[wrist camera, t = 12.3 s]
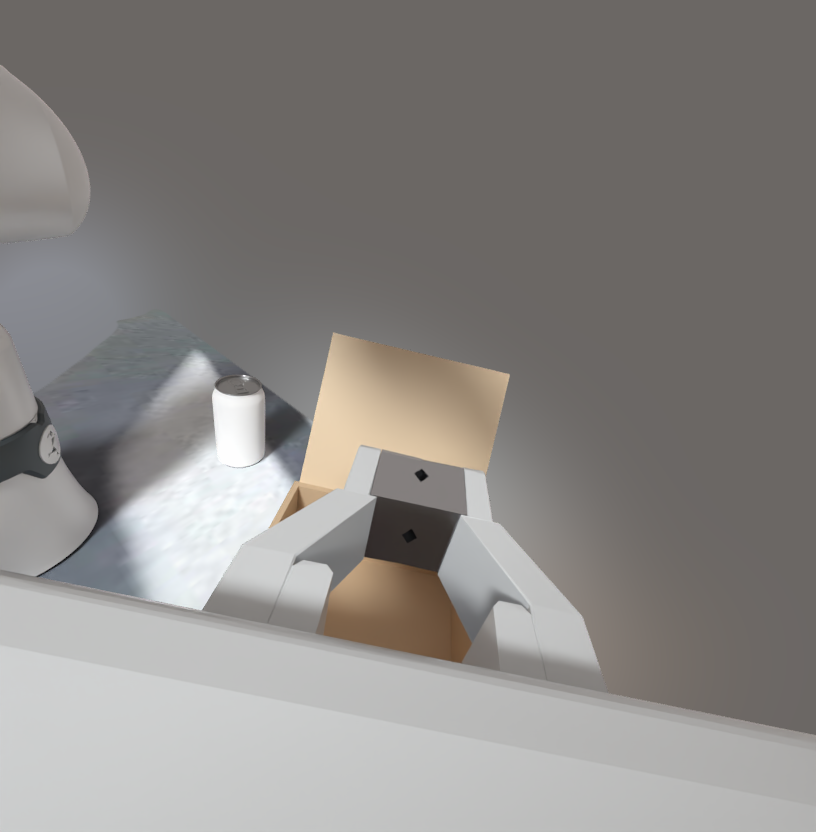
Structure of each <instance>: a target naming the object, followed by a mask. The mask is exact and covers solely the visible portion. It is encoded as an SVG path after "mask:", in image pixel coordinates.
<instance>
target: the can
mask: <svg viewBox="0 0 816 832" xmlns="http://www.w3.org/2000/svg"><path fill="white" fill-rule="evenodd" d="M261 387H262V384H261V382H260V381H259V380H258V379H256V378H254V377H251V376H247V375H229V376H225V377H222V378H220V379H218V380H217V381H216V382H215V389H214V391H213V394H212V402H213V415H214V426H215V437H216V448H217V456H218V459H219V460H220V461H221V462H222V463H223V464H225V465H227V466H229V467H234V468H244V467H249V466H252V465H254V464H256V463H258V462H259V461H260V460H261V459H262V458H263V457H264V454H265V394H264V391H263V389H262V388H261Z"/></svg>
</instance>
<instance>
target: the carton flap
mask: <svg viewBox="0 0 816 832" xmlns="http://www.w3.org/2000/svg"><path fill="white" fill-rule="evenodd" d="M509 376H510V374H506V373H501V372H498V371H494V370H489V369H485V368H480V367H477V366H472V365H468V364H464V363H460V362H455V361H451V360H447V359H443V358H438V357H434V356H430V355H426V354H421V353H417V352H412V351H409V350H404V349H400V348H396V347H392V346H387V345H383V344H379V343H374V342H370V341H366V340H362V339H357V338H353V337H349V336H345V335H341V334H336V333H333V337H332V341H331V345H330V350H329V354H328V359H327V364H326V367H325V372H324V376H323V381H322V385H321V389H320V394H319V399H318V403H317V407H316V412H315V416H314V420H313V425H312V429H311V434H310V438H309V443H308V447H307V451H306V456H305V460H304V465H303V469H302V474H301V478H300V482H302V483H306V484H311V485H315V486H320V487H324V488H329V489H333V490H335V489H337V488H339V489H344V487H345V484H346V481H347V478H348V476H349V473H350V470H351V467H352V465H353V462H354V459H355V456H356V453H357V451H358V448H359V446H360V445H366V446H370V447H375V448H379V449H381V451H382V449H383V450H388V451H392V452H396V453H400V454H404V455H408V456H412V457H417V458H421V459H423V460H428V461H433V462H437V463H442V464H447V465H452V466H456V467H461V468H462V467H465V468H470V469H475V470H480V471H483V472H484V473H485V475H486V473H487V469H488V465H489V461H490V456H491V452H492V448H493V443H494V439H495V435H496V431H497V426H498V422H499V418H500V414H501V409H502V405H503V401H504V397H505V393H506V389H507V384H508V380H509Z"/></svg>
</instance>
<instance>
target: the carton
mask: <svg viewBox="0 0 816 832" xmlns="http://www.w3.org/2000/svg"><path fill="white" fill-rule="evenodd" d="M331 491H333V489H329V488H324V487H320V486H315V485H311V484H306V483H302V482H298V481H295V482H294V483H293V485H292V487H291V489H290V491H289V492H288V494H287V496H286V498H285V500H284V501H283V503H282V505H281V507H280V509H279V511H278V512H277V514H276V516H275V518H274V520H273V521H272V523H271V525H270V527H269V528H271V527H273V526H274V525H276V524H278V523H279V522H281V521H283V520H284V519H286V518H288V517H289V516H291V515H293V514H294V513H296V512H298V511H299V510H301V509H303V508H305V507H306V506H308V505H310V504H311V503H313V502H315V501H316V500H318V499H320V498H321V497H323V496H325V495H326V494H328V493H330V492H331ZM323 635H324V636H329V637H334V638H339V639H344V640H349V641H354V642H359V643H364V644H368V645H373V646H378V647H383V648H388V649H393V650H398V651H403V652H408V653H413V654H417V655H422V656H427V657H432V658H437V659H442V660H447V661H452V662H457V663H462V661H463V659H464V657H465V655H466V654H467V652H468V650H469V648H470V647H471V645H472V642H471V640H470V638H469V636H468V634H467V632H466V630H465V628H464V626H463V624H462V622H461V620H460V618H459V616H458V614H457V612H456V610H455V608H454V606H453V604H452V602H451V600H450V598H449V596H448V594H447V592H446V590H445V588H444V586H443V584H442V582H441V580H440V578H439V576H438V572H433V571H429V570H425V569H421V568H417V567H412V566H408V565H404V564H400V563H394V562H389V561H383V560H378V559H372V558H367V557H364V559H363V560H362V561H361V562H360V563H359V564H358V565H357V566H356V567H355V568H354V569H353V570H352V571H351V572H350V573H349V574H348V575H347V576H346V577H345V578H344V579H343V580H342V581H341V582H340V583H339V584H338V585H337V586H336V587H335V588H334V589H333V590H332V591H331V592H330V596H329V603H328V609H327V615H326V622H325V628H324V634H323Z"/></svg>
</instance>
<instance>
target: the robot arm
mask: <svg viewBox="0 0 816 832" xmlns="http://www.w3.org/2000/svg"><path fill="white" fill-rule="evenodd" d="M89 200H90V181H89V176H88V171H87V168H86V165H85V162H84V160H83V157H82V154H81V152H80V150H79V148H78V146H77V144H76V143H75V141H74V139H73V137H72V136H71V134H70V133H69V131H68V130H67V129H66V127H65V126H64V124H63V123H62V122H61V120H60V119H59V118H58V117H57V116H56V114H55V113H54V112H53V111H52V110H51V109H50V108H49V107H48V106H47V105H46V103H45V102H44V101H43V100H42V99H40V98H39V96H37V95H36V94H35V93H34V92H33V91H32V90H31V89H30V88H29V87H27V86H26V85H25V84H23V83H22V82H21V81H20V80H18V79H17V78H16V77H15V76H13V75H12V74H11V73H10V72H9V71H7V70H6V69H5V68H4V67H3V66H2V65H1V64H0V244H4V243H15V242H25V241H35V240H42V239H50V238H56V237H64V236H69V235H71V234H72V233H73V232H75V231H76V229H77V228H78V227H79V226H80V224H81V223H82V221H83V219H84V217H85V216H86V213H87V210H88V207H89ZM97 517H98V506H97V503H96V501H95V499H94V498H93V497H92V496H91V495H90V494H89V493H88V492H87V491H86V490H85V489H84V488H83V487H82V486H81V485H80V484H79V483H78V482H77V480H76V479H75V478H74V476H73V475H72V473H71V472H70V471H69V469H68V467H67V466H66V464H65V463H64V461H63V459H62V457H61V449H60V443H59V439H58V436H57V433H56V430H55V428H54V426H53V425H52V423H51V420H50V418H49V416H48V413H47V411H46V409H45V407H44V405H43V403H42V402H41V401H40V400H39V399H38V398H37V397H35V396H34V395H33V392H32V390H31V387H30V384H29V382H28V379H27V377H26V374H25V371H24V369H23V366H22V363H21V361H20V358H19V356H18V353H17V351H16V348H15V345H14V343H13V340H12V337H11V336H10V334H9V333H8V331H7V330H6V329H5V328H4V327H3V326H2V325H1V324H0V832H816V735H811V734H806V733H801V732H796V731H791V730H786V729H781V728H776V727H771V726H767V725H762V724H757V723H752V722H747V721H742V720H737V719H733V718H728V717H723V716H718V715H713V714H708V713H703V712H698V711H693V710H688V709H684V708H679V707H674V706H669V705H664V704H659V703H654V702H649V701H644V700H639V699H634V698H629V697H625V696H620V695H614V694H610V693H608V690H607V687H606V684H605V682H604V678H603V676H602V673H601V670H600V667H599V664H598V661H597V658H596V655H595V652H594V649H593V646H592V643H591V640H590V637H589V634H588V632H587V629H586V626H585V623H584V620H583V617H582V616H581V615H580V613H579V612H578V611H577V610H576V609H575V608H574V607H573V605H572V604H571V603H570V602H569V601H568V600H567V599H566V598H565V596H564V595H563V594H562V593H561V592H560V591H559V590H558V589H557V587H556V586H555V585H554V584H553V583H552V582H551V581H550V579H549V578H548V577H547V576H546V575H545V574H544V573H543V572H542V570H541V569H540V568H539V567H538V566H537V565H536V564H535V563H534V561H533V560H532V559H531V558H530V557H529V556H528V555H527V554H526V553H525V551H524V550H523V549H522V548H521V547H520V546H519V545H518V543H517V542H516V541H515V540H514V539H513V538H512V537H511V535H510V534H509V533H508V532H507V531H506V530H505V529H504V528H503V526H502V525H501V524H500V523H497V522H493V518H492V511H491V505H490V500H489V494H488V487H487V481H486V475H485V473H484V472H483V471H480V470H475V469H470V468H465V467H462V468H461V467H456V466H452V465H447V464H442V463H437V462H433V461H428V460H423V459H421V458H417V457H412V456H408V455H404V454H400V453H396V452H392V451H388V450H383V449H382V451H381V449H379V448H375V447H370V446H366V445H360V446H359V448H358V451H357V453H356V456H355V459H354V462H353V465H352V467H351V470H350V473H349V476H348V478H347V481H346V484H345V487H344V489H339V488H337V489H335V490H333V491H331V492H330V493H328V494H326V495H325V496H323V497H321V498H320V499H318V500H316V501H315V502H313V503H311V504H310V505H308V506H306V507H305V508H303V509H301V510H299V511H298V512H296V513H294V514H293V515H291V516H289V517H288V518H286V519H284V520H283V521H281V522H279V523H278V524H276V525H274V526H273V527H271V528H269V529H268V530H266V531H264V532H262V533H261V534H259V535H257V536H256V537H254V538H252V539H251V540H249V541H247V542H246V543H244V544H242V546H241V547H240V549H239V551H238V552H237V554H236V555H235V557H234V559H233V560H232V562H231V564H230V565H229V567H228V569H227V570H226V572H225V574H224V575H223V577H222V578H221V580H220V582H219V583H218V585H217V587H216V588H215V590H214V592H213V593H212V595H211V596H210V598H209V600H208V601H207V603H206V605H205V606H204V608H203V610H197V609H192V608H187V607H182V606H177V605H172V604H167V603H162V602H157V601H153V600H148V599H143V598H138V597H133V596H128V595H123V594H118V593H113V592H108V591H104V590H99V589H94V588H89V587H84V586H79V585H74V584H69V583H64V582H59V581H54V580H50V579H45V578H40V577H35V576H37V575H39V574H41V573H43V572H45V571H46V570H48V569H50V568H51V567H53V566H54V565H56V564H57V563H59V562H60V561H62V560H63V559H64V558H66V557H67V556H68V555H70V554H71V553H72V552H73V551H74V550H75V549H76V548H78V547H79V546H80V545H81V544H82V542H83V541H84V540H85V539H86V538H87V537H88V535H89V534H90V532H91V531H92V529H93V527H94V526H95V523H96V521H97ZM364 557H367V558H372V559H378V560H383V561H389V562H394V563H400V564H404V565H408V566H412V567H417V568H421V569H425V570H429V571H433V572H438V576H439V578H440V580H441V582H442V584H443V586H444V588H445V590H446V592H447V594H448V596H449V598H450V600H451V602H452V604H453V606H454V608H455V610H456V612H457V614H458V616H459V618H460V620H461V622H462V624H463V626H464V628H465V630H466V632H467V634H468V636H469V638H470V640H471V642H472V645H471V647H470V648H469V650H468V652H467V654H466V655H465V657H464V659H463V661H462V663H457V662H452V661H447V660H442V659H437V658H432V657H427V656H422V655H417V654H413V653H408V652H403V651H398V650H393V649H388V648H383V647H378V646H373V645H368V644H364V643H359V642H354V641H349V640H344V639H339V638H334V637H329V636H324V635H323V634H324V628H325V622H326V615H327V609H328V603H329V596H330V592H331V591H332V590H333V589H334V588H335V587H336V586H337V585H338V584H339V583H340V582H341V581H342V580H343V579H344V578H345V577H346V576H347V575H348V574H349V573H350V572H351V571H352V570H353V569H354V568H355V567H356V566H357V565H358V564H359V563H360V562H361V561H362V560H363V559H364Z"/></svg>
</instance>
